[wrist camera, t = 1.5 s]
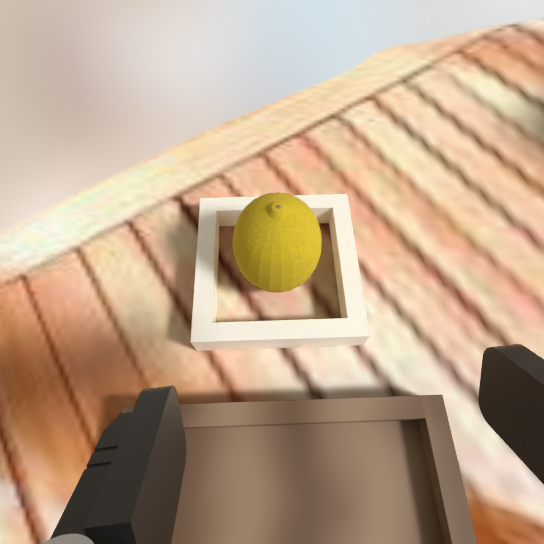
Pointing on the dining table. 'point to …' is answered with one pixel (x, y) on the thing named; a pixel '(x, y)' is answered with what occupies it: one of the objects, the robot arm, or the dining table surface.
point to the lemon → (277, 242)
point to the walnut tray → (321, 473)
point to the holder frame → (277, 332)
